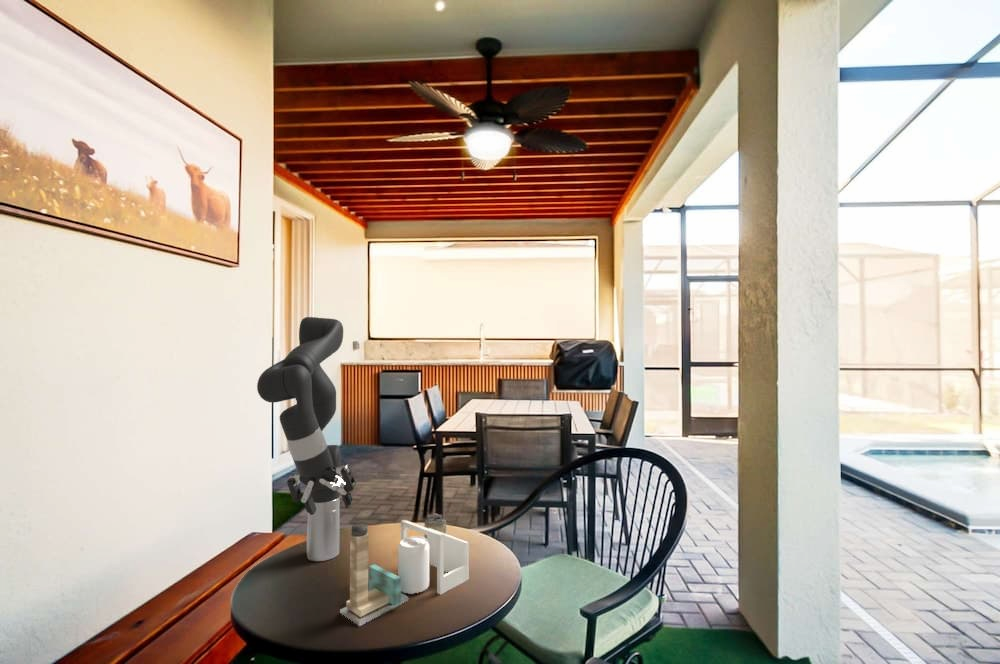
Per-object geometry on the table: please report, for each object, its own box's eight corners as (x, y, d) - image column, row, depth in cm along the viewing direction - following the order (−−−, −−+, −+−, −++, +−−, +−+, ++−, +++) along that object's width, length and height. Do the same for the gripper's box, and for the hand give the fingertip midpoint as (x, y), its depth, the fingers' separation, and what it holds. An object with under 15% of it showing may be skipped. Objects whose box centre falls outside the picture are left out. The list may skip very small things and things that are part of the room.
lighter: (447, 544, 150) (447, 512, 151) (446, 549, 146) (445, 517, 147) (425, 544, 150) (425, 513, 151) (423, 549, 146) (423, 517, 147)
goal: (400, 575, 129) (400, 520, 130) (429, 562, 137) (429, 510, 138) (440, 595, 119) (440, 535, 120) (468, 579, 127) (468, 523, 128)
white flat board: (340, 613, 111) (340, 609, 111) (388, 590, 121) (388, 586, 121) (359, 626, 106) (359, 621, 106) (408, 600, 116) (408, 596, 116)
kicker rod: (339, 604, 112) (340, 523, 113) (374, 588, 120) (374, 512, 120) (365, 621, 105) (366, 534, 106) (400, 603, 113) (401, 522, 113)
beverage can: (402, 599, 117) (403, 550, 118) (394, 584, 124) (394, 539, 125) (433, 591, 121) (433, 544, 121) (423, 577, 128) (423, 533, 129)
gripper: (344, 435, 108) (364, 493, 113) (285, 446, 108) (307, 504, 113) (335, 452, 101) (356, 514, 106) (271, 465, 101) (295, 525, 106)
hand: (331, 509), depth 109 cm, fingers open, 8 cm apart
